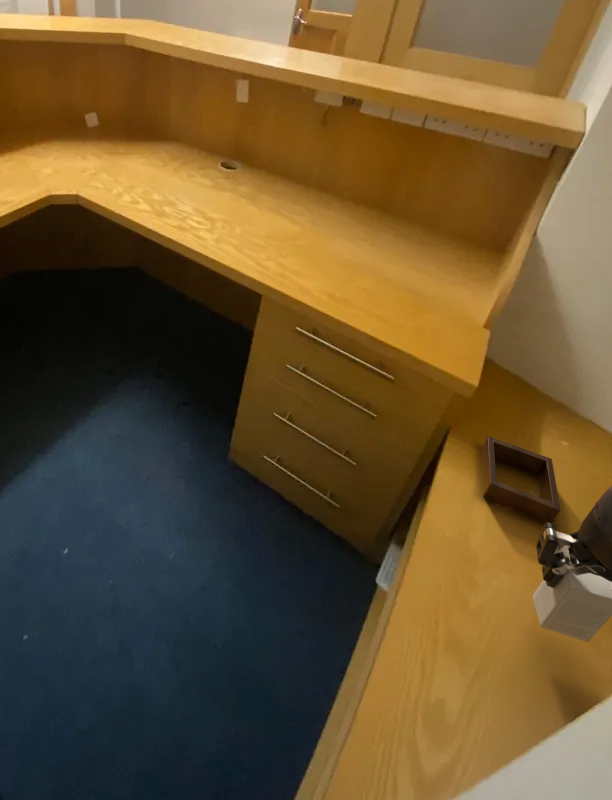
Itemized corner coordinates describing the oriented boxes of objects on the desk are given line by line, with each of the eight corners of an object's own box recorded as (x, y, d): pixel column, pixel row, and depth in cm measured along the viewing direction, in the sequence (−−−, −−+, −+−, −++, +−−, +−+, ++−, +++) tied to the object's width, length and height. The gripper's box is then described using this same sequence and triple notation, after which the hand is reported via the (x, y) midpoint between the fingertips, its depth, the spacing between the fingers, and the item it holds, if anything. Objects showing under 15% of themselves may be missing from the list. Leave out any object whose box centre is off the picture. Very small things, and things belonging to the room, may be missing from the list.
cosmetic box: (577, 608, 75) (611, 568, 69) (588, 643, 71) (626, 604, 65) (529, 594, 76) (559, 554, 70) (538, 627, 73) (571, 588, 67)
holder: (540, 476, 98) (552, 458, 96) (548, 527, 90) (560, 510, 87) (479, 453, 102) (487, 435, 100) (480, 500, 94) (490, 483, 92)
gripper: (566, 530, 62) (520, 594, 70) (724, 591, 56) (653, 653, 64) (557, 476, 67) (515, 541, 76) (698, 526, 62) (637, 591, 70)
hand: (579, 592), depth 70 cm, fingers closed on cosmetic box, 6 cm apart
